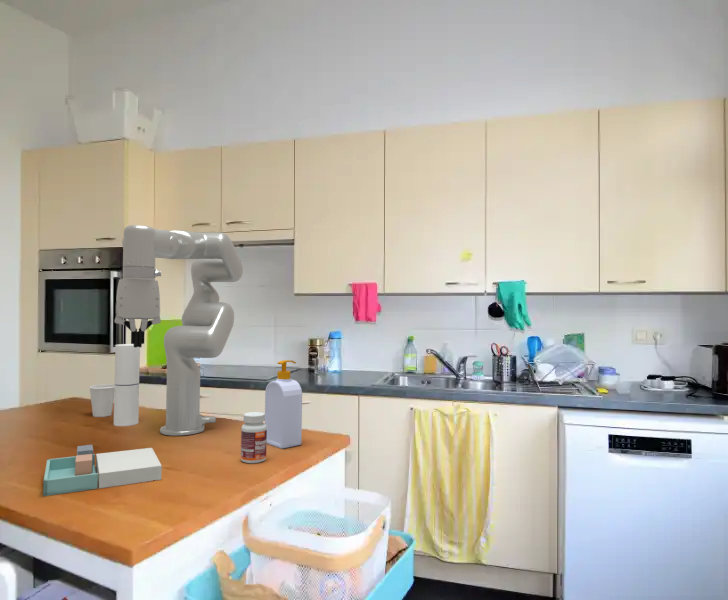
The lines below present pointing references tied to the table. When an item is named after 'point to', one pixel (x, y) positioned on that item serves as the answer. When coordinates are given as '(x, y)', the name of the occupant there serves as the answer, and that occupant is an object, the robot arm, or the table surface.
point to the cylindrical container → (126, 385)
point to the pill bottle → (253, 438)
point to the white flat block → (127, 467)
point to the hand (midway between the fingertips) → (137, 346)
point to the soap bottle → (283, 410)
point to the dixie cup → (102, 399)
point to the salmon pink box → (83, 464)
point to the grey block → (85, 451)
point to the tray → (67, 477)
